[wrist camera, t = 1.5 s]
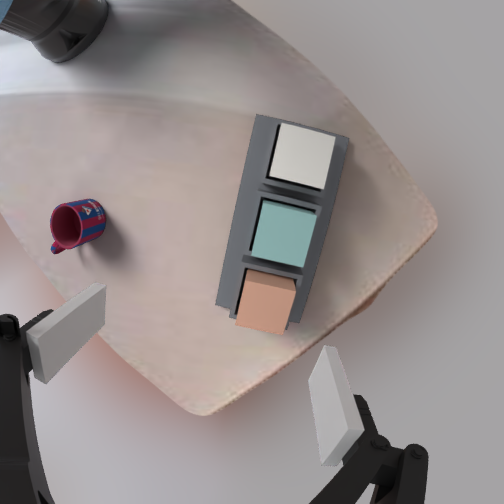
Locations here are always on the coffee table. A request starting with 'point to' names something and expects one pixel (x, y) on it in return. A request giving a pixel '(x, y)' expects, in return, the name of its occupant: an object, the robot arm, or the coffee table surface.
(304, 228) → the teal key
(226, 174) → the coffee table surface
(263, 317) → the terracotta key
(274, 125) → the console
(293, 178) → the ivory key
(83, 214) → the mug
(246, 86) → the coffee table surface
